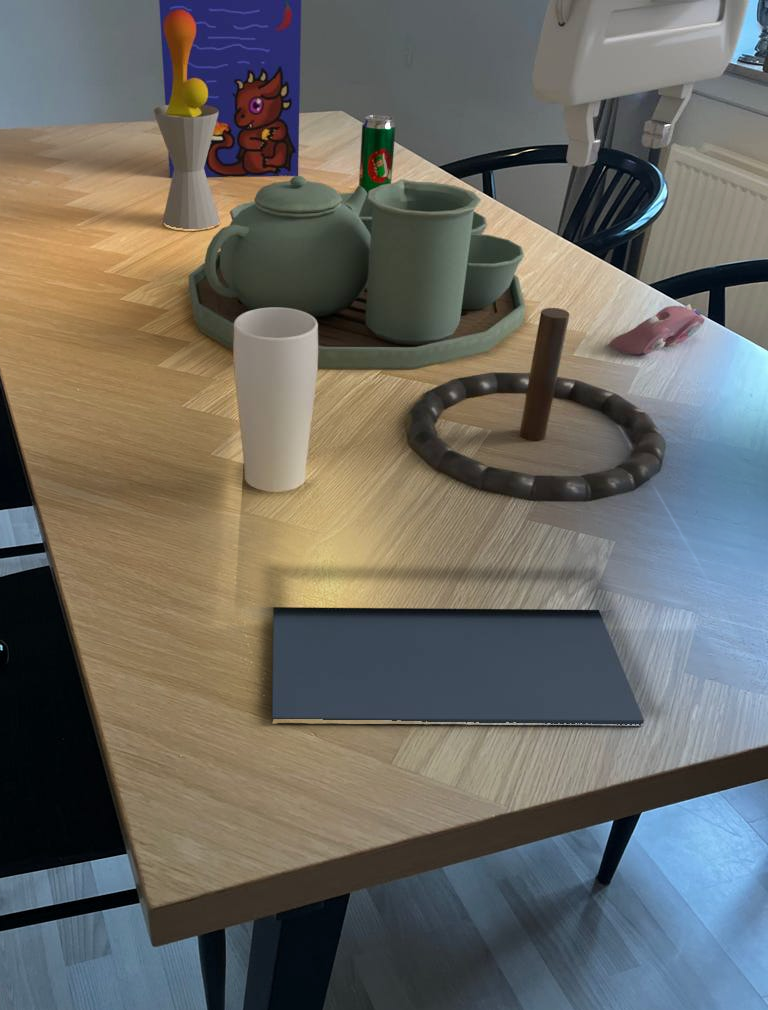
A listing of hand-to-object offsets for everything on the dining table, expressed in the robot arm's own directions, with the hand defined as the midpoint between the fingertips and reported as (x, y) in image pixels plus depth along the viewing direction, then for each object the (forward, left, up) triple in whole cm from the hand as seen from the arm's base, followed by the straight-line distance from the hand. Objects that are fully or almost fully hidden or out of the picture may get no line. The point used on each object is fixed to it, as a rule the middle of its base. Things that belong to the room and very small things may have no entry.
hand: (618, 155), depth 76 cm
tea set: (+18, -34, -26) cm, 46 cm away
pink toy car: (-15, -22, -26) cm, 37 cm away
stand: (+3, 0, -25) cm, 26 cm away
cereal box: (+35, -98, -26) cm, 107 cm away
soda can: (+12, -81, -26) cm, 86 cm away
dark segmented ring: (+3, 0, -24) cm, 24 cm away
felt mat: (+15, +30, -25) cm, 42 cm away
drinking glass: (+27, +8, -26) cm, 38 cm away
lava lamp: (+40, -69, -26) cm, 84 cm away
